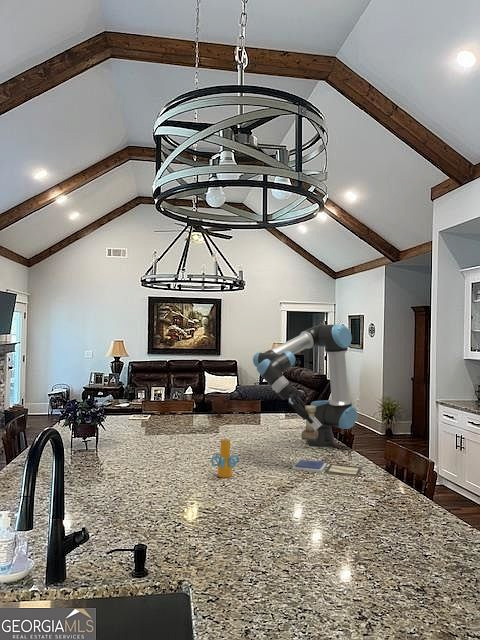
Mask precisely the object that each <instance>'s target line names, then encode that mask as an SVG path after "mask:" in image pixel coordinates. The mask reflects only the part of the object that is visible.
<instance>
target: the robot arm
mask: <svg viewBox="0 0 480 640" xmlns="http://www.w3.org/2000/svg"><path fill="white" fill-rule="evenodd" d="M352 338H353V337H352V333H351V331H350V329H349V328H348V327H347V326H346V325H342V324H319V325H314V326H312V327H309V328H308V329H305V330H303V331H301V332H300V334H299V335H297V336H295V337H294V338H292V339H289V340H287V341H284V342H283V343H281V344H279V345H277V346H275V347H273V348H271V349H268V350H267V351H264V352H256V353H255V354H253V358H252V364H253V365H254V367H256V370H257V372H258V374H259V375H260V376H261V377H262V378H263V379H264V380H265V381H266V383H267V384H269V386H270V387H271V388H272V389H271V390H272V391H275V393H277V394H278V396H279V397H280V399H281V400H285V399H287V400H288V402H287V403H288V405H289V406H291V408H293V409H294V411H295V412H296V413H297V414H298V415H299V416H300V418H302V420H303V421H305V422H306V421H307V422H308V423H309V424H310V425H311V426H312V427H313V429H314V430H315V431H318V438H317V439H316V440H315V441H313V440H305V441H306V444H307V445H311V446H316V447H317V446H318V447H331V446H335V444H336V443H335V441H336V439H335V436H334V434H333V433H334V432H333V430H332V429H333V428H332V427H334V428H339V429H346V430H349V429H352V428H353V426H355V424H356V423H357V419H358V410H357V409H356V408H355V407H354V406H353V405H352V401H351V399H350V398H349V391H348V390H349V389H348V378H347V377H348V376H347V375H348V374H347V364H346V363H347V362H346V353H347V352H348V348H349V347H350V346H351V343H352ZM315 347H322V348H324V352H325V354H327V356H328V368H329V380H330V381H329V382H330V383H329V384H330V393H331V400H326V399H325V400H315V401H311V403H310V406H316V411H315V412H314V419H313V418H312V417H311V416H309V414H308V413H307V412H306V411H305V406H307V404H306V403H305V402H304V401H303V399H301V397H300V395H297V394H295V393H294V391H296V389H295V387H294V386H293V385H292V383H289V380H288V379H287V378H286V377H285V376H284V375H283V373H284V372H286V371H287V370H289V369H290V368H291V367H293V366H294V365H295V363H296V356H295V355H296V354H298V353H300V352H301V351H303V350H306V349H312V348H315Z"/></svg>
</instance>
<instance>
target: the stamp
mask: <svg viewBox="0 0 480 640" xmlns="http://www.w3.org/2000/svg"><path fill="white" fill-rule="evenodd" d="M305 411H306V412H307V413H308V414H309V416H311V417H312V418H313V419H314V412H315V411H316V406H311V405H306V406H305ZM317 438H318V431H315V430H314V429H313V427H312V426H311V425H310V424H309V423H308V422H307V421H306V420H305V429H304V430H303V431H301V440H305V441H307V440H313V441H315V440H316V439H317Z"/></svg>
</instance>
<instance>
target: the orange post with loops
mask: <svg viewBox="0 0 480 640" xmlns="http://www.w3.org/2000/svg"><path fill="white" fill-rule="evenodd" d="M219 451H220V452H218V453H216V454H215V455H214V456H212V457H211V460H210V463H211V465H212V466H213V467H217V477H219V478H223V479H227V478H232V476H233V468H235V466H236V465H237V464H238V463H239V460H240V458H239V456H238V454H232V455H231V439H229V438H222V439H220V450H219ZM235 458H236V459H235ZM214 460H215V463H214Z"/></svg>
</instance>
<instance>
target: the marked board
mask: <svg viewBox="0 0 480 640" xmlns="http://www.w3.org/2000/svg"><path fill="white" fill-rule="evenodd" d="M362 470H363V469H362V466H355V465H354V466H353V465H345V464H336V463H330V464H329V465H328V467H326V468H325V471H324V474H328V475H338V476H347V477H355V478H358V477H359V476H360V474H361V472H362Z"/></svg>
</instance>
